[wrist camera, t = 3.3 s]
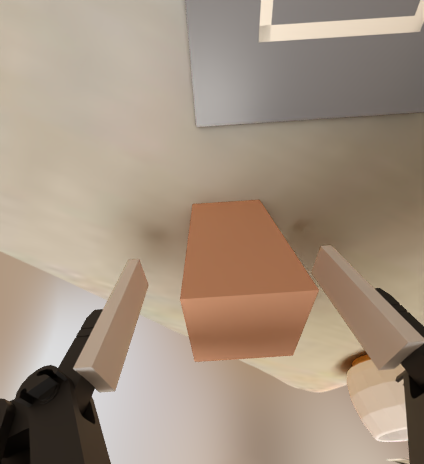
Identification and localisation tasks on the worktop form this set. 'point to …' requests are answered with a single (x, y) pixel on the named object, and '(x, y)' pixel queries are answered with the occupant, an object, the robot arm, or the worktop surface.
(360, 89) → the base plate
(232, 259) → the terracotta block
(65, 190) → the worktop surface
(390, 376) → the cup
